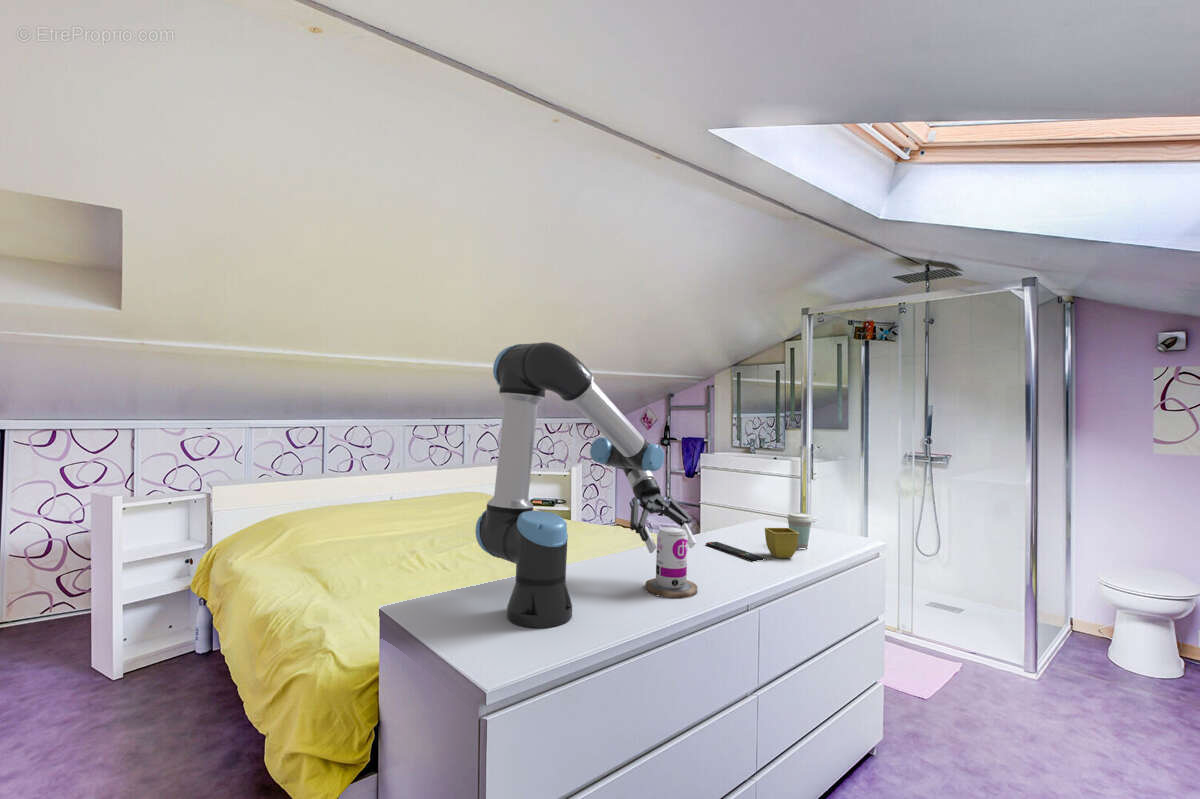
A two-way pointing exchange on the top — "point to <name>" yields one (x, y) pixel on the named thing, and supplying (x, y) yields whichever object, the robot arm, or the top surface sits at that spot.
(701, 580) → the top surface
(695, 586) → the walnut pad
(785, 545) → the flower pot
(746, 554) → the remote control
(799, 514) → the coffee cup
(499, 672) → the top surface
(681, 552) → the supplement can
